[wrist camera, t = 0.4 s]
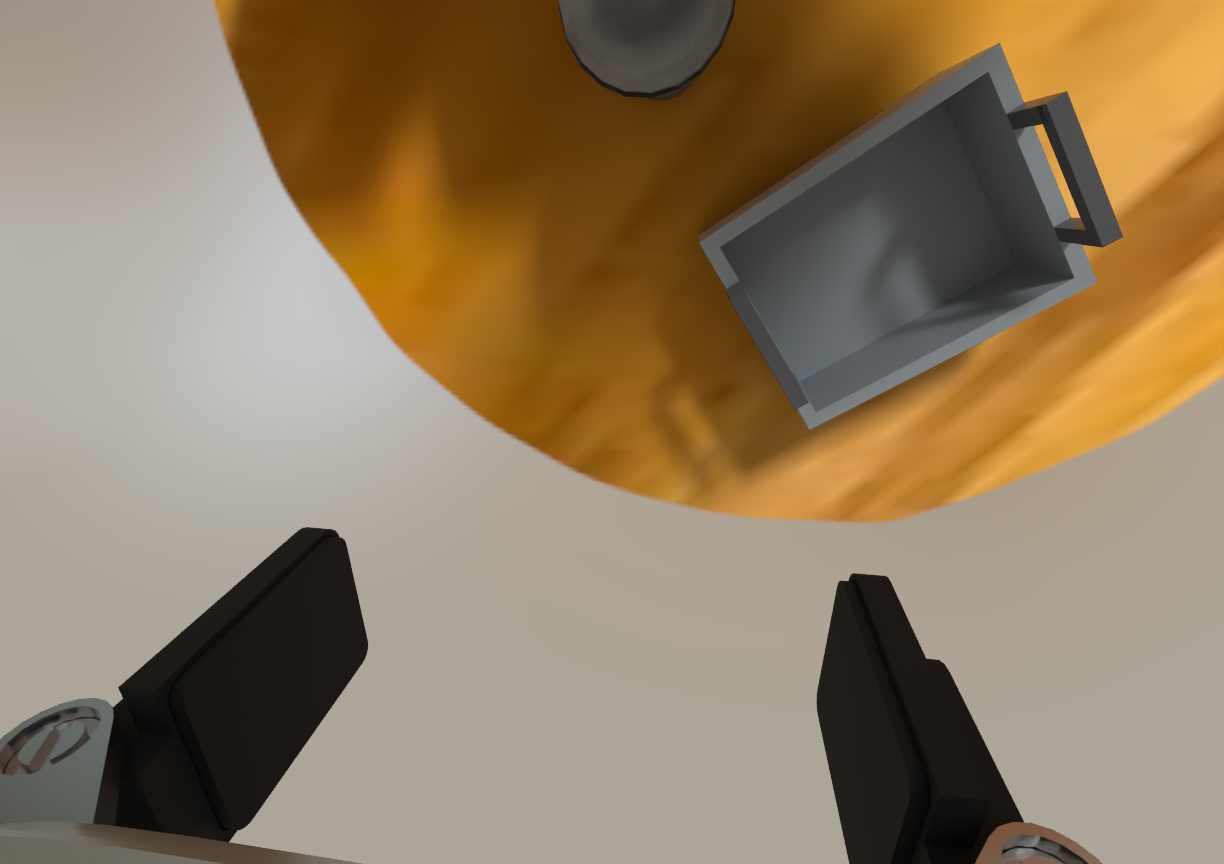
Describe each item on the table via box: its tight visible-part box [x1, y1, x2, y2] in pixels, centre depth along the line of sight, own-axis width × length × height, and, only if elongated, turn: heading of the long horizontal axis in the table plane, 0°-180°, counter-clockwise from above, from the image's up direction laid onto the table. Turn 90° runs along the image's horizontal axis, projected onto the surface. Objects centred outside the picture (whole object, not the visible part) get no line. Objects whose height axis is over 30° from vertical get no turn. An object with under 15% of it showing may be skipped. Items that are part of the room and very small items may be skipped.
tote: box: [699, 43, 1123, 430], centre depth 32 cm, size 16×13×10 cm
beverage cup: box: [559, 0, 735, 100], centre depth 25 cm, size 7×7×20 cm
